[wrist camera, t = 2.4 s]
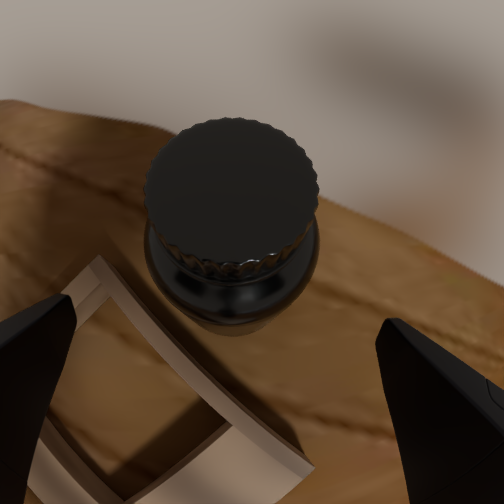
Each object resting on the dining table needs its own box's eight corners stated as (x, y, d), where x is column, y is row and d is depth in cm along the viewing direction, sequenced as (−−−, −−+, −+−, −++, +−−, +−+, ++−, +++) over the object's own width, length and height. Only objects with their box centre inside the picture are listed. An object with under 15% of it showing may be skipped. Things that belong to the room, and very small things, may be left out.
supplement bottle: (267, 225, 20) (308, 87, 9) (296, 321, 18) (397, 270, 7) (169, 247, 19) (109, 119, 8) (191, 348, 17) (125, 342, 6)
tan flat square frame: (144, 564, 10) (137, 580, 8) (-9, 400, 14) (-27, 402, 11) (305, 454, 15) (315, 467, 13) (113, 265, 18) (99, 254, 16)
